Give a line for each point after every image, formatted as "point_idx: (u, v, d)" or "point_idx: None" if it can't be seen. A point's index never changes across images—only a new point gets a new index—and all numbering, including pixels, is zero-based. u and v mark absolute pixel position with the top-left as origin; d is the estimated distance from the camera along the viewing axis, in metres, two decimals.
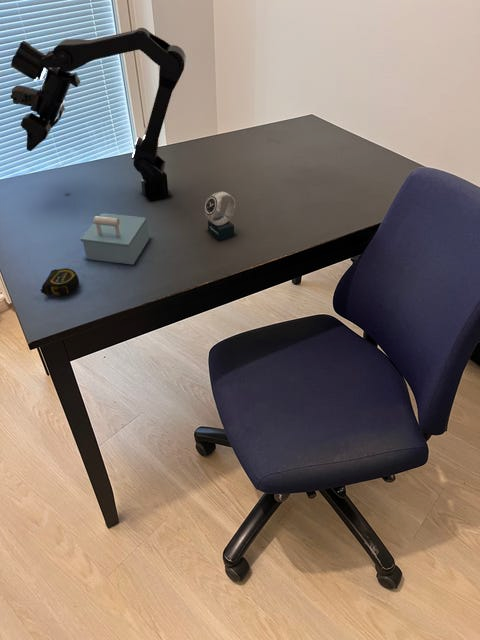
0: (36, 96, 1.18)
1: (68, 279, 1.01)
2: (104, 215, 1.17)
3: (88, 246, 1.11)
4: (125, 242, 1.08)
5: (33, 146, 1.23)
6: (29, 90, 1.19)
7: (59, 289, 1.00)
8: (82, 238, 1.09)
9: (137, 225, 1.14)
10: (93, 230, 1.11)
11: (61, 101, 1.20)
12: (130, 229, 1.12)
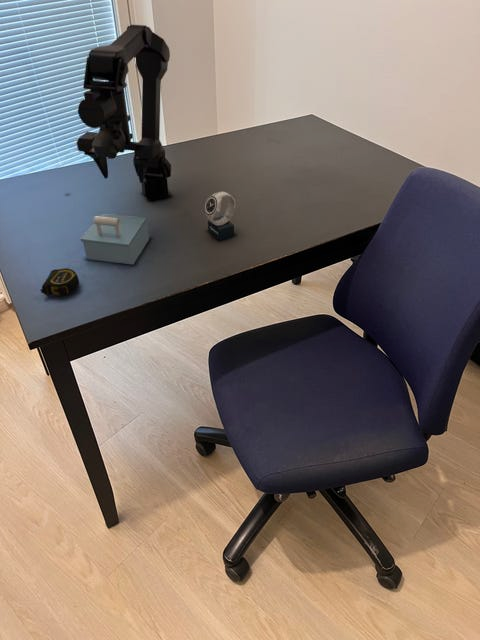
0: (120, 129, 1.05)
1: (68, 279, 1.01)
2: (104, 215, 1.17)
3: (88, 246, 1.11)
4: (125, 242, 1.08)
5: (144, 173, 1.15)
6: (104, 135, 1.04)
7: (59, 289, 1.00)
8: (82, 238, 1.09)
9: (137, 225, 1.14)
10: (93, 230, 1.11)
11: None
12: (130, 229, 1.12)
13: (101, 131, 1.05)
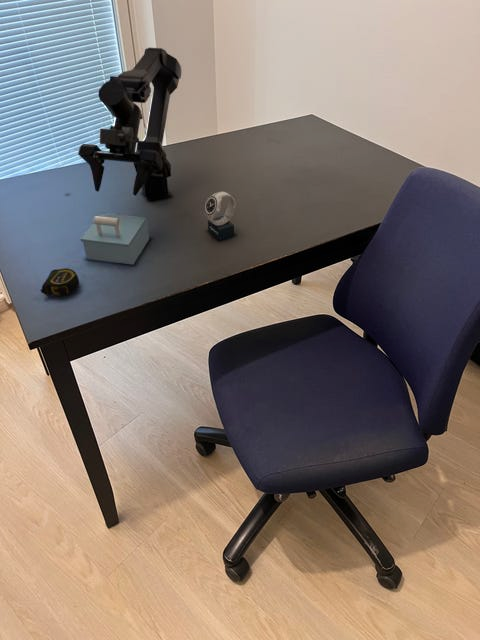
0: None
1: (68, 279, 1.01)
2: (104, 215, 1.17)
3: (88, 246, 1.11)
4: (125, 242, 1.08)
5: (140, 187, 1.11)
6: None
7: (59, 289, 1.00)
8: (82, 238, 1.09)
9: (137, 225, 1.14)
10: (93, 230, 1.11)
11: None
12: (130, 229, 1.12)
13: None
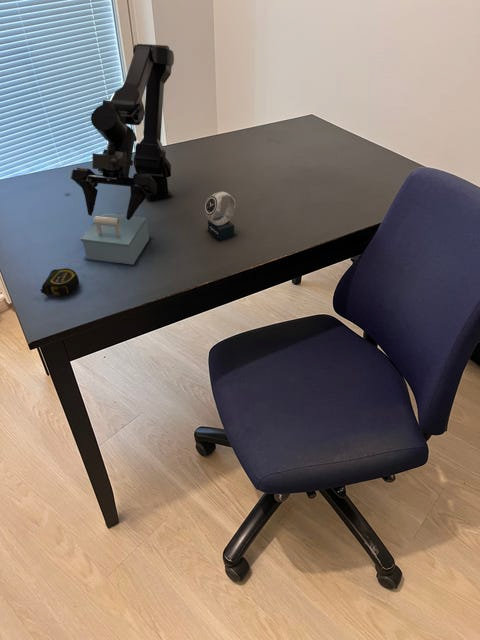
0: None
1: (68, 279, 1.01)
2: (104, 215, 1.17)
3: (88, 246, 1.11)
4: (125, 242, 1.08)
5: (133, 212, 1.09)
6: None
7: (59, 289, 1.00)
8: (82, 238, 1.09)
9: (137, 225, 1.14)
10: (93, 230, 1.11)
11: None
12: (130, 229, 1.12)
13: None
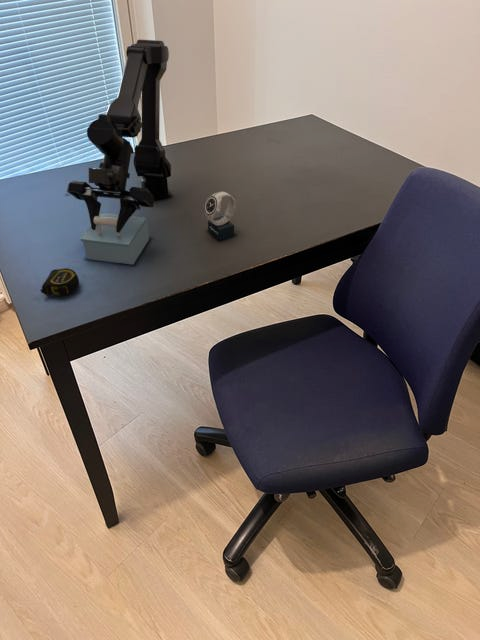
0: None
1: (68, 279, 1.01)
2: (104, 215, 1.17)
3: (88, 246, 1.11)
4: (125, 242, 1.08)
5: (123, 224, 1.08)
6: None
7: (59, 289, 1.00)
8: (82, 238, 1.09)
9: (137, 225, 1.14)
10: (93, 230, 1.11)
11: None
12: (130, 229, 1.12)
13: None
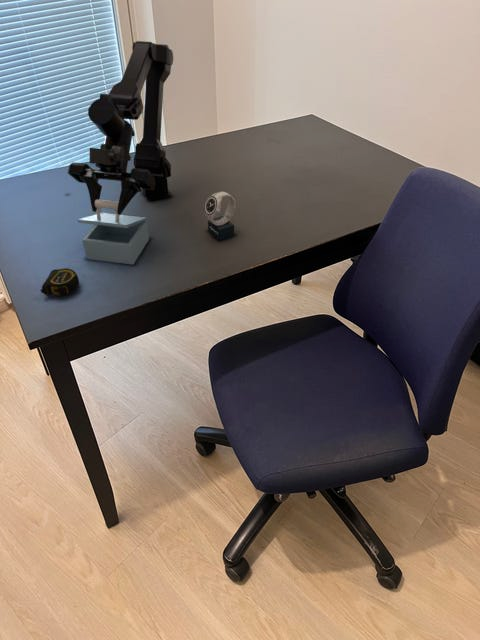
0: None
1: (68, 279, 1.01)
2: (104, 213, 1.17)
3: (88, 246, 1.11)
4: (124, 224, 1.06)
5: (124, 206, 1.08)
6: None
7: (59, 289, 1.00)
8: (80, 219, 1.07)
9: (137, 219, 1.13)
10: (91, 217, 1.10)
11: None
12: (130, 220, 1.11)
13: None
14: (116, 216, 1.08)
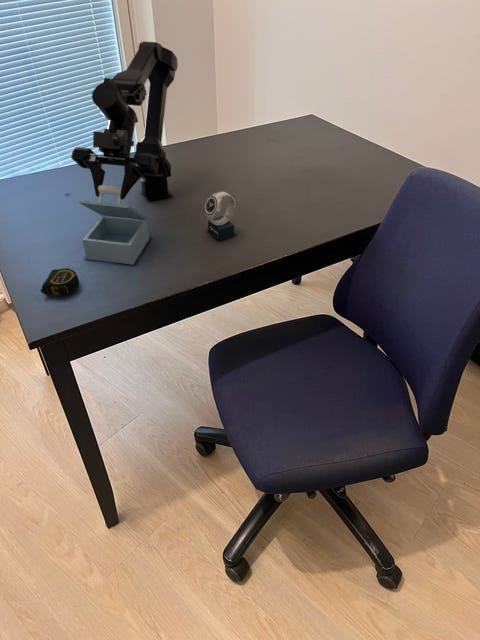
0: None
1: (68, 279, 1.01)
2: None
3: (88, 246, 1.11)
4: (125, 205, 1.05)
5: (127, 191, 1.08)
6: None
7: (59, 289, 1.00)
8: (81, 200, 1.06)
9: None
10: None
11: None
12: None
13: None
14: (118, 201, 1.07)
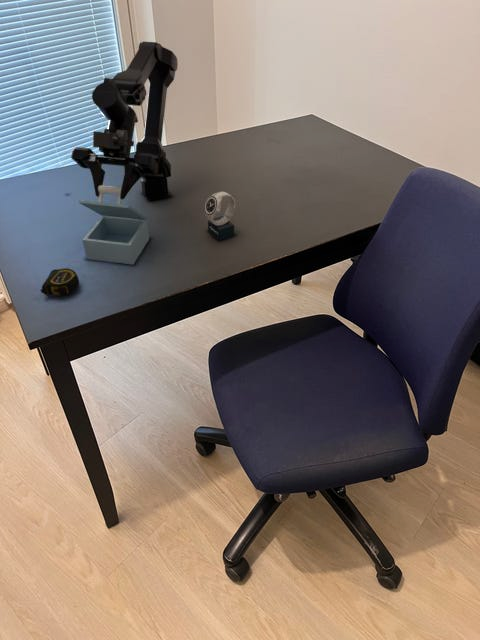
0: None
1: (68, 279, 1.01)
2: None
3: (88, 246, 1.11)
4: (125, 205, 1.05)
5: (127, 191, 1.08)
6: None
7: (59, 289, 1.00)
8: (81, 200, 1.06)
9: None
10: None
11: None
12: None
13: None
14: (118, 201, 1.07)
